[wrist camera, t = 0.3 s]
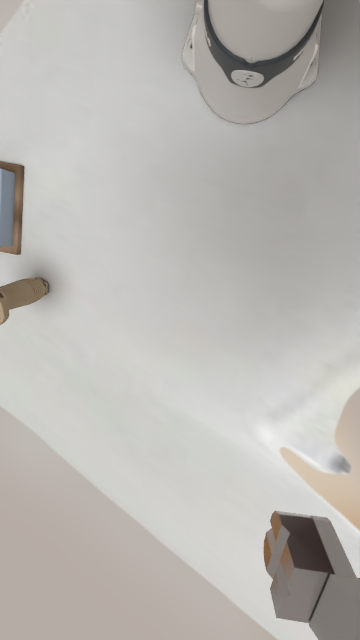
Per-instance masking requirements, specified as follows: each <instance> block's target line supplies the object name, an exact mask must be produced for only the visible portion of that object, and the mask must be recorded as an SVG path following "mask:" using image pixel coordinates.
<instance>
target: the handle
mask: <svg viewBox="0 0 360 640" xmlns="http://www.w3.org/2000/svg"><path fill="white" fill-rule="evenodd" d="M48 292H49V291H48V283H47V282H44V281H43V280H41V278H35V279H23V280H19V281H15V282H13V283H10V284H7V285H4V286H1V287H0V325H1V324H3V323H4V322H5V321H6V320H7V319H8V317H9V310H10V309H13V308H17V307H21V306H25V305H28V304H31V303H33V302H36V301H37V300H39V299H40V298H42V297H43V296H44V295H47V294H48Z"/></svg>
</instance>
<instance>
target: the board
mask: <svg viewBox="0 0 360 640" xmlns="http://www.w3.org/2000/svg"><path fill="white" fill-rule="evenodd" d="M0 169H4V170H7V171H10V172H13V173H15V197H14V226H13V246H4V247H0V252H5V253H11V254H16V255H19V254H20V253H21V229H22V205H23V181H24V166H21V165H17V164H11V163H5V162H0Z"/></svg>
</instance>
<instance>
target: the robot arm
mask: <svg viewBox="0 0 360 640" xmlns="http://www.w3.org/2000/svg"><path fill="white" fill-rule="evenodd" d="M323 4H324V0H197V2H196V6H195V14H194V17H193V20H192V24H191V27H190V30H189V33H188V36H187V39H186V42H185V45H184V48H183V52H182V62H183V64H184V66H185V67H186V69H187V70H188V71H189V72H190V73H191V74H192V75H193V76H194V77H195V79H196V81H197V83H198V85H199V88H200V91H201V93H202V96H203V98H204V99H205V101H206V103H207V104H208V105H209V107H210V108H211V109H212V110H213V111H214V112H215V113H216V114H217V115H219V116H220V117H222V118H224V119H226V120H228V121H231V122H234V123H240V124H249V123H255V122H259V121H262V120H264V119H266V118H268V117H270V116H272V115H273V114H274V113H276V112H277V111H278V110H279V109H281V108H282V107H283V106H284V104H285V103H286V102H287V101H288V100H289V99H290V98H291V97H292V96H293V95H294V94H295V93H297V92H299V91H301V90H303V89H305V88H307V87H309V86H310V85H311V84H312V83H313V82H314V81H315V79H316V76H317V73H318V60H319V47H320V33H321V19H322V8H323ZM191 46H192V49H191ZM310 65H311V67H310ZM270 522H271V526H272V529H270V530H269V531H267V532H266V536H265V540H264V561H265V566H266V571H267V572H268V574H269V575H270V576H271V577H272V579H273V582H272V585H271V588H270V590H271V595H272V600H273V604H274V609H275V613H276V618H281V619H287V620H293V621H299V622H305V623H310V624H309V626H310V628H311V629H312V631H313V632H314V634H315V635H316V637H317V638H318V640H360V578H357V577H356V575H355V573H354V571H353V569H352V567H351V564H350V562H349V560H348V558H347V556H346V554H345V551H344V549H343V547H342V545H341V543H340V541H339V538H338V536H337V534H336V532H335V530H334V528H333V526H332V523H331V521H330V520H329V519H328V518H325V517H317V516H308V515H303V514H296V513H288V512H280V511H274V513H273V514H272V517H271V520H270Z"/></svg>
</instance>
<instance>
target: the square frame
mask: <svg viewBox="0 0 360 640" xmlns="http://www.w3.org/2000/svg"><path fill="white" fill-rule="evenodd" d="M14 197H15V173H13V172H10V171H7V170H4V169H0V247H4V246H13V226H14Z"/></svg>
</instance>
